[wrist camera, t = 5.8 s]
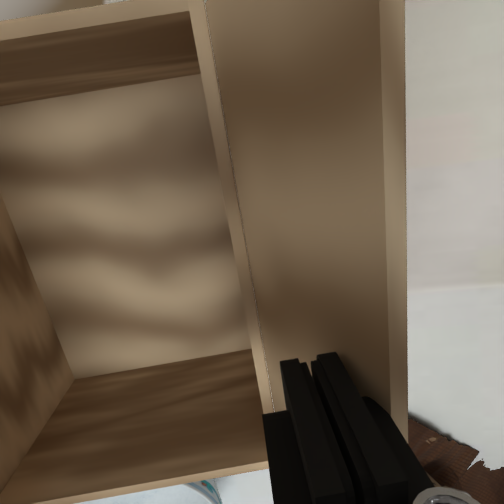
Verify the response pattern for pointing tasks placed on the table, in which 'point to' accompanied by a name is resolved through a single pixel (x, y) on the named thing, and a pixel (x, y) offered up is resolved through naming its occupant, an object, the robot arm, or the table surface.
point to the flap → (322, 181)
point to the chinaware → (169, 495)
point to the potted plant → (455, 465)
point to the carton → (121, 260)
